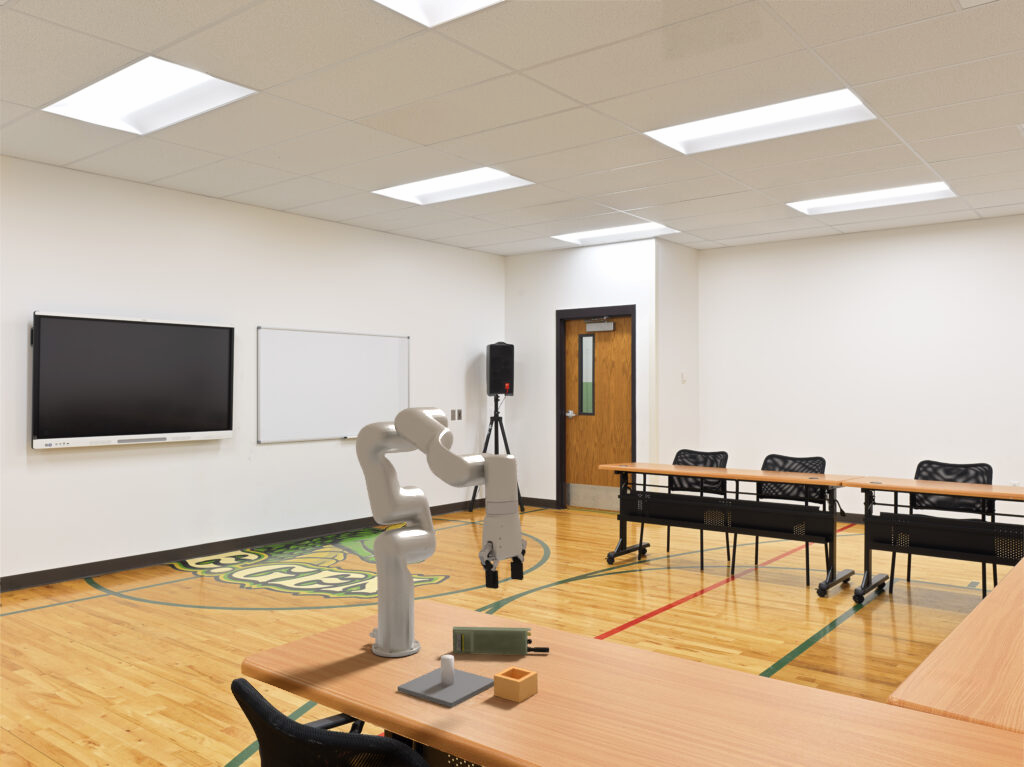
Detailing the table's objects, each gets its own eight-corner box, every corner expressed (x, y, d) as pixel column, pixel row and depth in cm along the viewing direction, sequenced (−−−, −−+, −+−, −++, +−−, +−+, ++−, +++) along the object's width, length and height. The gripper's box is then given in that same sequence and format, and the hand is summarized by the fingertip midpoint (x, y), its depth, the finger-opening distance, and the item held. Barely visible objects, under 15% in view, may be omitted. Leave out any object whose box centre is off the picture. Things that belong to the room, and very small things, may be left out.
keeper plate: (397, 691, 176) (397, 660, 176) (443, 669, 189) (443, 641, 189) (451, 707, 167) (451, 675, 167) (496, 684, 180) (496, 654, 180)
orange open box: (494, 695, 173) (493, 675, 173) (512, 685, 179) (512, 666, 179) (519, 702, 169) (519, 682, 169) (537, 692, 175) (537, 672, 175)
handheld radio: (454, 650, 204) (549, 652, 202) (452, 655, 201) (549, 657, 198) (454, 625, 204) (549, 627, 201) (452, 629, 200) (548, 631, 198)
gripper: (510, 503, 187) (513, 574, 187) (465, 512, 173) (468, 590, 173) (536, 504, 183) (539, 577, 182) (492, 514, 169) (495, 593, 168)
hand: (505, 583), depth 177 cm, fingers open, 9 cm apart
